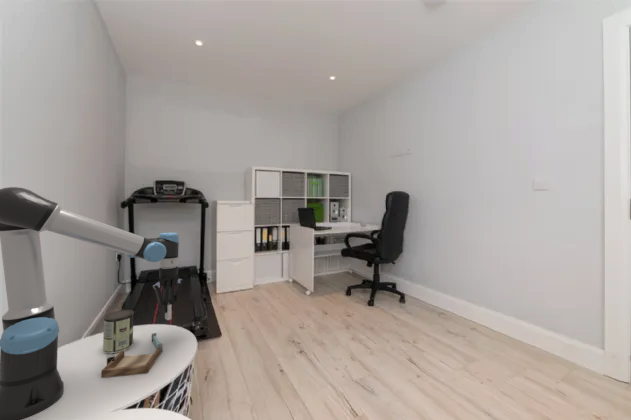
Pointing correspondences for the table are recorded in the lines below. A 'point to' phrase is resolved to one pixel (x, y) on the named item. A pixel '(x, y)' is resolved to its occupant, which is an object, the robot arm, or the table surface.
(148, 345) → the table surface
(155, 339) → the gate
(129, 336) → the coffee can
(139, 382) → the table surface
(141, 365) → the shallow wooden tray
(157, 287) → the robot arm
